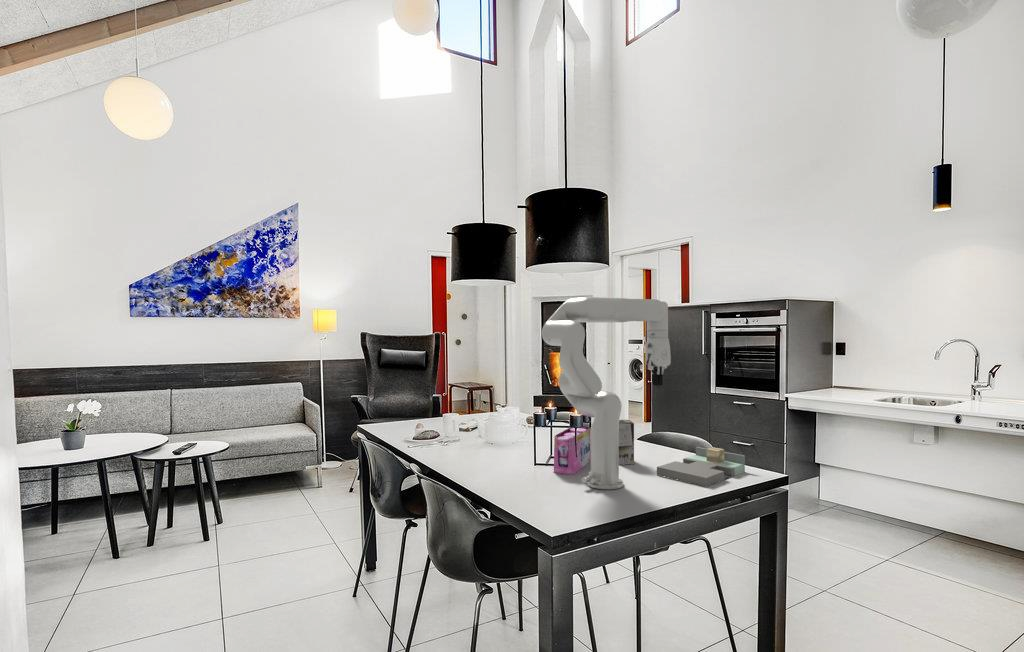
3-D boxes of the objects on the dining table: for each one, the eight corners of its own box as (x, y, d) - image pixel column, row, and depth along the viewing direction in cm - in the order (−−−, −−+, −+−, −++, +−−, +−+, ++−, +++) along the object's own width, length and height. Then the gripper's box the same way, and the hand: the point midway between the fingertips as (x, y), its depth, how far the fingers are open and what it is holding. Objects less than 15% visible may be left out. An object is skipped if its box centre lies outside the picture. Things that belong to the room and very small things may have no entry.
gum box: (572, 476, 191) (572, 438, 191) (551, 473, 194) (551, 436, 194) (591, 461, 213) (591, 427, 213) (572, 459, 216) (572, 425, 216)
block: (717, 463, 196) (717, 451, 196) (706, 460, 200) (706, 448, 200) (724, 461, 199) (724, 449, 199) (713, 459, 203) (713, 447, 203)
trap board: (706, 486, 177) (706, 468, 177) (656, 475, 191) (656, 458, 191) (744, 471, 196) (744, 455, 196) (696, 462, 210) (696, 446, 210)
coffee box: (634, 465, 206) (634, 423, 206) (618, 464, 206) (617, 423, 206) (630, 459, 215) (629, 419, 215) (614, 459, 215) (613, 419, 215)
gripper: (654, 335, 187) (654, 387, 187) (677, 335, 197) (677, 384, 197) (636, 335, 192) (636, 385, 192) (659, 334, 202) (660, 383, 202)
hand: (657, 385), depth 195 cm, fingers closed
